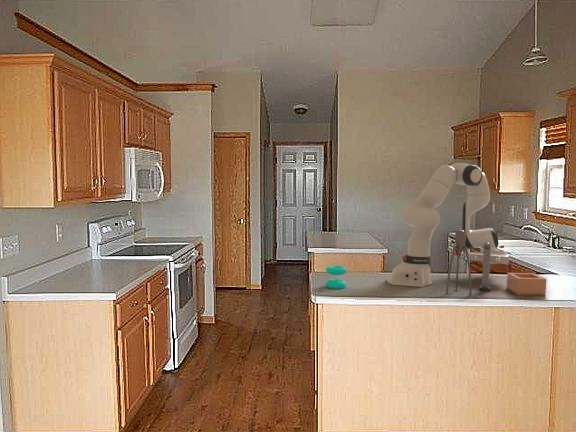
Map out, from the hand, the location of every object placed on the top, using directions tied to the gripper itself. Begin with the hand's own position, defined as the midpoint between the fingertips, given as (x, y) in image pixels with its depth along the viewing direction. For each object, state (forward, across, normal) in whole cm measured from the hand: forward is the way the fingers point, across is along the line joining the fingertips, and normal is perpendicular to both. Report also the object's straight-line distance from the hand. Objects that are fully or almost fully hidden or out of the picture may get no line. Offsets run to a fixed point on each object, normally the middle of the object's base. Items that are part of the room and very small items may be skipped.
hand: (487, 259), depth 262 cm
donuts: (+37, -67, +14) cm, 78 cm away
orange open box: (+8, +18, +13) cm, 23 cm away
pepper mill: (+11, 0, +13) cm, 17 cm away
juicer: (+22, -12, +13) cm, 29 cm away
